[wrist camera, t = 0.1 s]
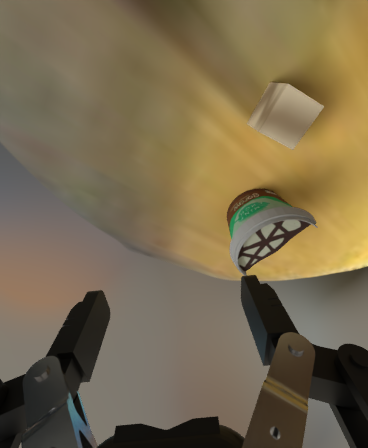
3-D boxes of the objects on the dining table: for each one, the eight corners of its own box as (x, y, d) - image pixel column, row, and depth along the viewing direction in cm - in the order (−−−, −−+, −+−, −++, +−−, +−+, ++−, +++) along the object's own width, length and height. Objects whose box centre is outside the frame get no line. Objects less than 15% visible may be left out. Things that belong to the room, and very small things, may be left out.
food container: (261, 164, 31) (293, 195, 23) (285, 188, 34) (321, 224, 26) (204, 218, 36) (213, 260, 28) (228, 236, 39) (243, 279, 31)
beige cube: (269, 82, 26) (288, 83, 21) (301, 101, 27) (324, 106, 23) (246, 123, 28) (259, 131, 24) (276, 139, 29) (293, 149, 25)
